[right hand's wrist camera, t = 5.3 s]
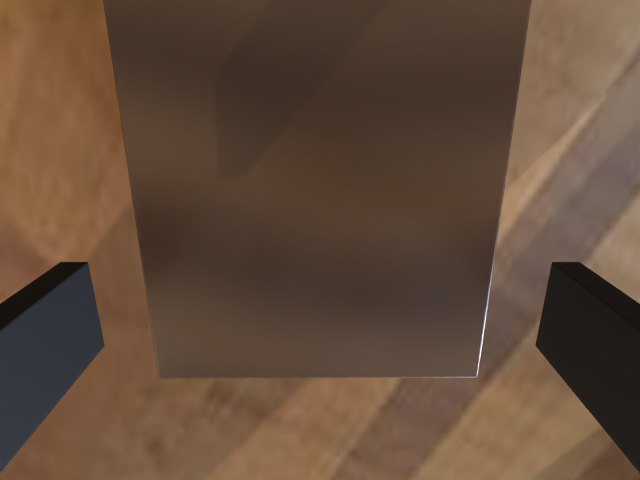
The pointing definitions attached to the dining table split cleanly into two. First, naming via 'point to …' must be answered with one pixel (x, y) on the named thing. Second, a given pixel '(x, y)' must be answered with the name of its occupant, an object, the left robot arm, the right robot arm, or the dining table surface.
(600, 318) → the right robot arm
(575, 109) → the dining table surface
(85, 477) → the dining table surface
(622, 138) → the dining table surface
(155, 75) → the cabinet
